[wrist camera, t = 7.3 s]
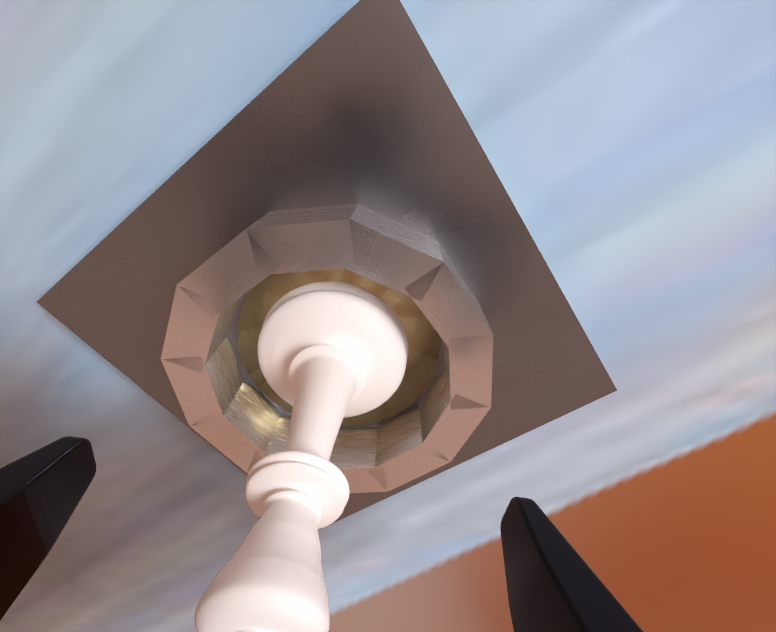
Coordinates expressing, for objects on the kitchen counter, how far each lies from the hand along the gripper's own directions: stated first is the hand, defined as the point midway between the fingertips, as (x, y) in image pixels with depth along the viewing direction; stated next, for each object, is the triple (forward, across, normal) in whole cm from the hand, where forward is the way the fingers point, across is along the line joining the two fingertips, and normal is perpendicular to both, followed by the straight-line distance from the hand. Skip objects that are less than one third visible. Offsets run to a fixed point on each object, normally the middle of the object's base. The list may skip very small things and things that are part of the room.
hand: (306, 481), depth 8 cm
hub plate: (+7, 0, 0) cm, 7 cm away
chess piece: (+6, 0, 0) cm, 6 cm away
